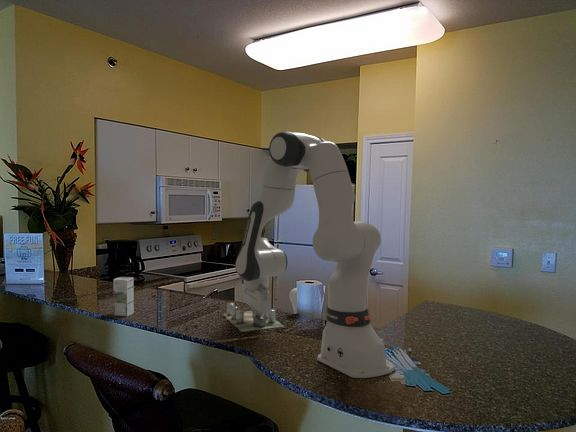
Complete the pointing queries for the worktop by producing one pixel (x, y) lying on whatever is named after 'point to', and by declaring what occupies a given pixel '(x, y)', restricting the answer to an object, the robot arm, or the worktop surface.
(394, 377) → the worktop surface
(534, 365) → the worktop surface
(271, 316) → the spacers
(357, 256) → the robot arm
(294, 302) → the lightbulb
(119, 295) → the syrup box
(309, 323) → the worktop surface
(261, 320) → the dark metal plug
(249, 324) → the board
